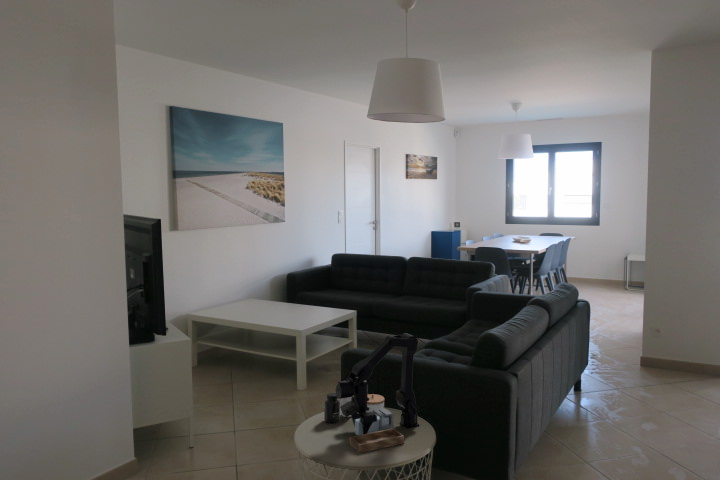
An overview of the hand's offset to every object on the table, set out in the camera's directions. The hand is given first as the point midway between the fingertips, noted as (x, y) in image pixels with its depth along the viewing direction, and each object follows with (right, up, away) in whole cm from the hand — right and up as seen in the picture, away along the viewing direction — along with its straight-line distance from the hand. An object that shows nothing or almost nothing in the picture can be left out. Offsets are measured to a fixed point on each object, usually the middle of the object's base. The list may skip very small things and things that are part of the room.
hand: (360, 431), depth 225 cm
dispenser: (+10, -1, +5) cm, 11 cm away
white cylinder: (-6, 0, +21) cm, 21 cm away
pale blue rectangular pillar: (+5, -1, +2) cm, 6 cm away
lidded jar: (+6, 0, +22) cm, 22 cm away
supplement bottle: (-13, 0, +14) cm, 19 cm away
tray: (+7, -2, -9) cm, 11 cm away
